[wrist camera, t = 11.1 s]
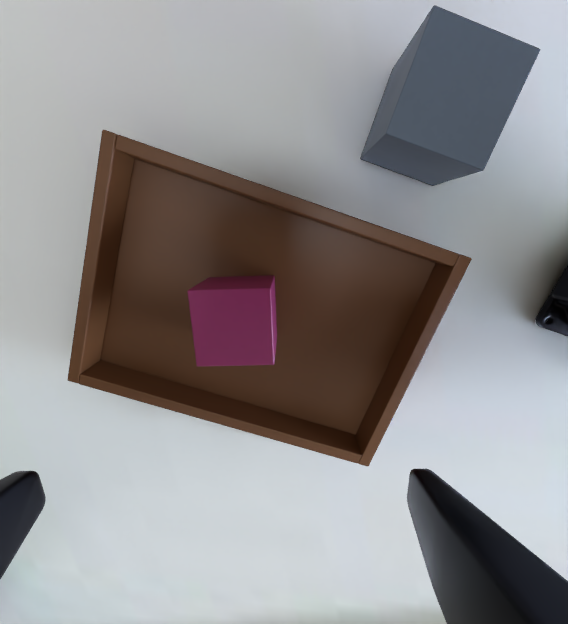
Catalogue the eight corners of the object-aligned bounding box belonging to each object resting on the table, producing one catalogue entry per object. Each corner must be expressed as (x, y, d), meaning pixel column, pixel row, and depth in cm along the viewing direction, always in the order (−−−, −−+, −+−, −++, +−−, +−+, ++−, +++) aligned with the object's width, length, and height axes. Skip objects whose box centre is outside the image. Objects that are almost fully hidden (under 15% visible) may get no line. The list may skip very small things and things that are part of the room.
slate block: (471, 98, 16) (541, 48, 11) (433, 185, 17) (483, 170, 12) (392, 68, 15) (434, 4, 11) (360, 159, 16) (385, 133, 12)
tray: (446, 254, 18) (472, 258, 15) (358, 439, 21) (368, 466, 19) (130, 144, 16) (101, 128, 14) (94, 361, 20) (66, 380, 18)
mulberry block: (274, 275, 18) (271, 287, 14) (277, 337, 19) (274, 365, 15) (208, 276, 18) (186, 290, 14) (214, 338, 19) (196, 367, 15)
